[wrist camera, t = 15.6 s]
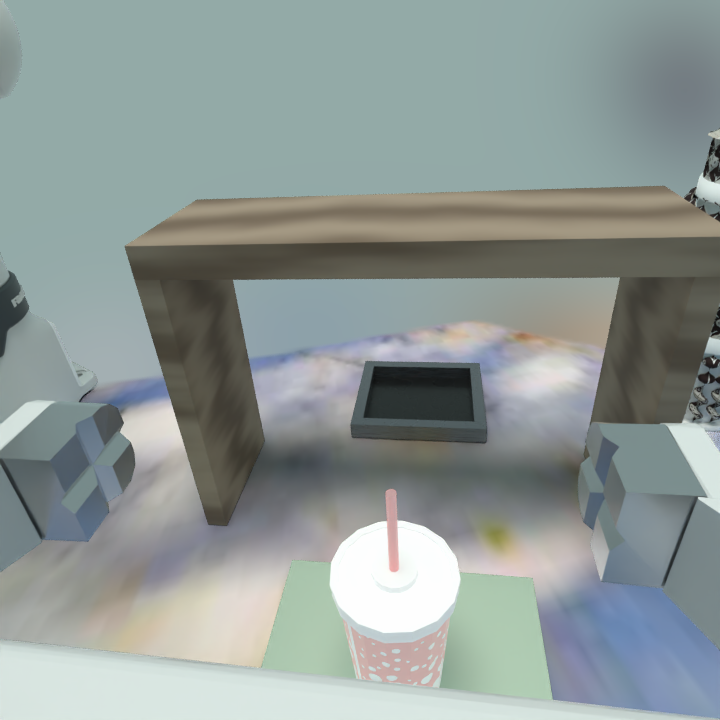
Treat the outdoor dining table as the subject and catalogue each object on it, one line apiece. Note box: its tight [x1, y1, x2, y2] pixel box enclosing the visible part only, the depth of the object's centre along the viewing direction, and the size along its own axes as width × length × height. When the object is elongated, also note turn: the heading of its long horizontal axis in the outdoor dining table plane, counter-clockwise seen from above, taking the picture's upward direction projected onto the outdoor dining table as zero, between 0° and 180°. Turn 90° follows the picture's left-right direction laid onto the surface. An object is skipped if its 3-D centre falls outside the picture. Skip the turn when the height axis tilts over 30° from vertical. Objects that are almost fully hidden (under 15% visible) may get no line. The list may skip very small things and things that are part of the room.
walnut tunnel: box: [125, 186, 720, 526], centre depth 36 cm, size 10×31×22 cm, turn 82°
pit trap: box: [351, 361, 487, 443], centre depth 51 cm, size 11×12×2 cm
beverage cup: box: [330, 489, 461, 688], centre depth 26 cm, size 6×6×14 cm
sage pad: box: [261, 560, 553, 700], centre depth 29 cm, size 14×16×1 cm
